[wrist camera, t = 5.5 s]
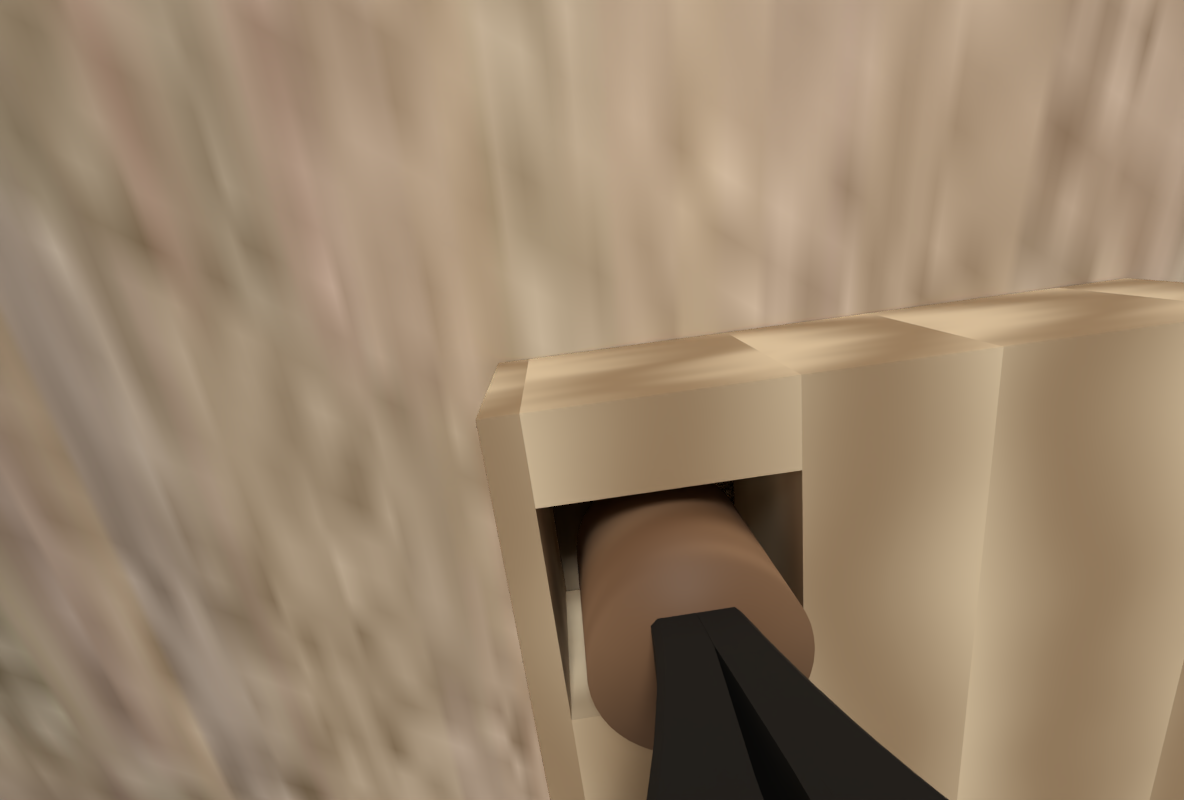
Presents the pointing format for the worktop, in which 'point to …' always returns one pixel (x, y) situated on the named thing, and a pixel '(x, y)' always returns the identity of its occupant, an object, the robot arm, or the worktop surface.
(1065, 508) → the maple board
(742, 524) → the walnut peg
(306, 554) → the worktop surface
